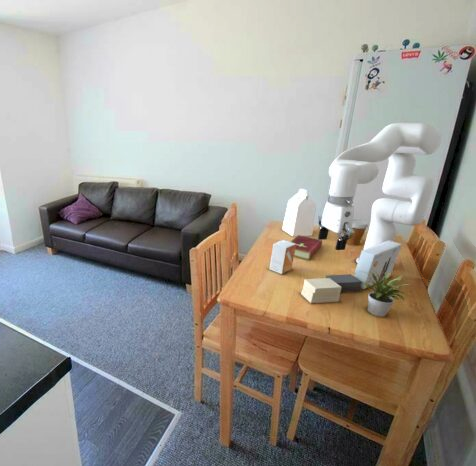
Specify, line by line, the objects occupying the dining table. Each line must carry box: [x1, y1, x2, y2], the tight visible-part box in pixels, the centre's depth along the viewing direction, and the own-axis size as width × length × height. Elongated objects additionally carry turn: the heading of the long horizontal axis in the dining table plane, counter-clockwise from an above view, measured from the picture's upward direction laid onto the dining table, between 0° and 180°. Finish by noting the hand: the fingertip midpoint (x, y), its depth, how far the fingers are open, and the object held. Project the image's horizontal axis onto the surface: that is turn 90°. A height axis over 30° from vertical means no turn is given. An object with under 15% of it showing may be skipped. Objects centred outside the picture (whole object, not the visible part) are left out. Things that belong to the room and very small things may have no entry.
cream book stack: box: [300, 284, 341, 304], centre depth 120 cm, size 11×6×4 cm, turn 93°
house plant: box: [359, 270, 410, 317], centre depth 108 cm, size 14×14×16 cm
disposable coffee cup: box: [346, 219, 369, 246], centre depth 166 cm, size 10×10×12 cm
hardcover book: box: [289, 235, 323, 261], centre depth 161 cm, size 12×21×4 cm, turn 135°
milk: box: [281, 188, 317, 237], centre depth 180 cm, size 12×12×26 cm
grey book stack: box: [324, 273, 362, 293], centre depth 126 cm, size 11×6×4 cm, turn 93°
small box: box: [269, 239, 296, 275], centre depth 141 cm, size 8×6×13 cm
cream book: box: [303, 277, 342, 294], centre depth 119 cm, size 10×7×2 cm
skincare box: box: [353, 240, 403, 290], centre depth 128 cm, size 21×6×16 cm, turn 118°
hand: (330, 244), depth 115 cm, fingers open, 9 cm apart
